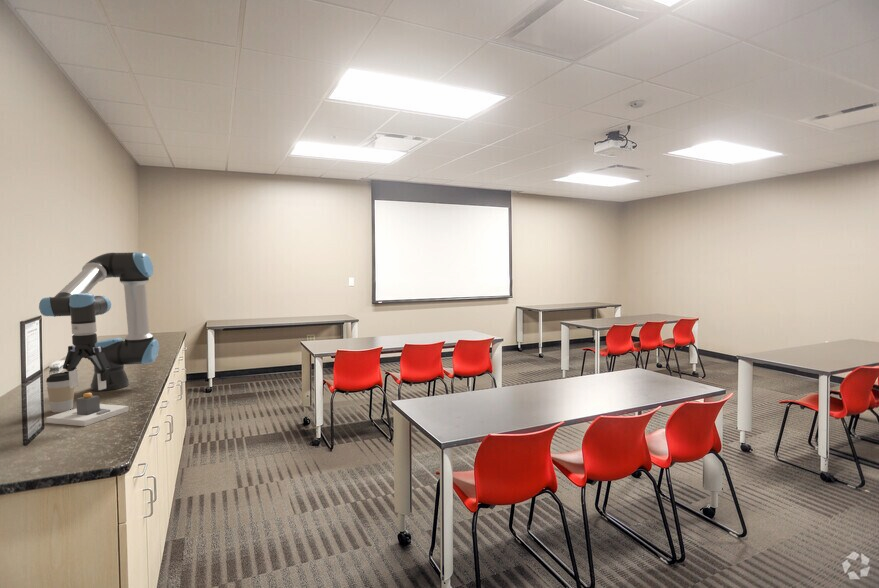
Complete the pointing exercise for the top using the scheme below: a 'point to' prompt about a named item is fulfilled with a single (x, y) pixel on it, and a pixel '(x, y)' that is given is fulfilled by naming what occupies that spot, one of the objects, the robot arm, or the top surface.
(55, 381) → the coffee cup
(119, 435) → the top surface
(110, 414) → the socket plate
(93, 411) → the plug
